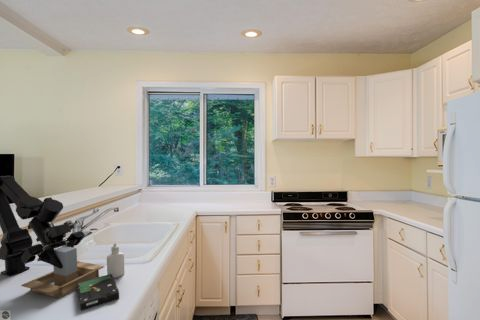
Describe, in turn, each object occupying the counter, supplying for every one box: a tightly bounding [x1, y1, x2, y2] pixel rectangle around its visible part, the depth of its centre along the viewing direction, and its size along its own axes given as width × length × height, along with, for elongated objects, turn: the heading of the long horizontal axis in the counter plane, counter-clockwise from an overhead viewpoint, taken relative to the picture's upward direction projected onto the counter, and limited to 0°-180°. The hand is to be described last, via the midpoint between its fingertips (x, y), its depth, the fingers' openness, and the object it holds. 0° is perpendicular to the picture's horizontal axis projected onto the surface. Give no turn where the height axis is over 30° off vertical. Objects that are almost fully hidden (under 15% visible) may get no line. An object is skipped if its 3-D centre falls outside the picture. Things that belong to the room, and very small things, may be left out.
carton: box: [20, 260, 105, 299], centre depth 89 cm, size 14×19×3 cm
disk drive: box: [77, 274, 120, 311], centre depth 82 cm, size 10×3×15 cm
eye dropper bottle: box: [106, 242, 126, 279], centre depth 94 cm, size 4×6×12 cm
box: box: [53, 246, 79, 286], centre depth 89 cm, size 6×4×12 cm, turn 69°
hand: (68, 265), depth 88 cm, fingers closed on box, 4 cm apart
